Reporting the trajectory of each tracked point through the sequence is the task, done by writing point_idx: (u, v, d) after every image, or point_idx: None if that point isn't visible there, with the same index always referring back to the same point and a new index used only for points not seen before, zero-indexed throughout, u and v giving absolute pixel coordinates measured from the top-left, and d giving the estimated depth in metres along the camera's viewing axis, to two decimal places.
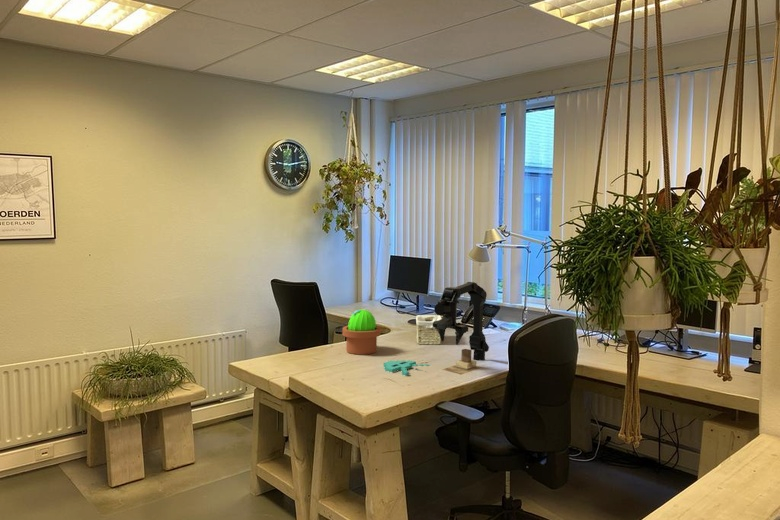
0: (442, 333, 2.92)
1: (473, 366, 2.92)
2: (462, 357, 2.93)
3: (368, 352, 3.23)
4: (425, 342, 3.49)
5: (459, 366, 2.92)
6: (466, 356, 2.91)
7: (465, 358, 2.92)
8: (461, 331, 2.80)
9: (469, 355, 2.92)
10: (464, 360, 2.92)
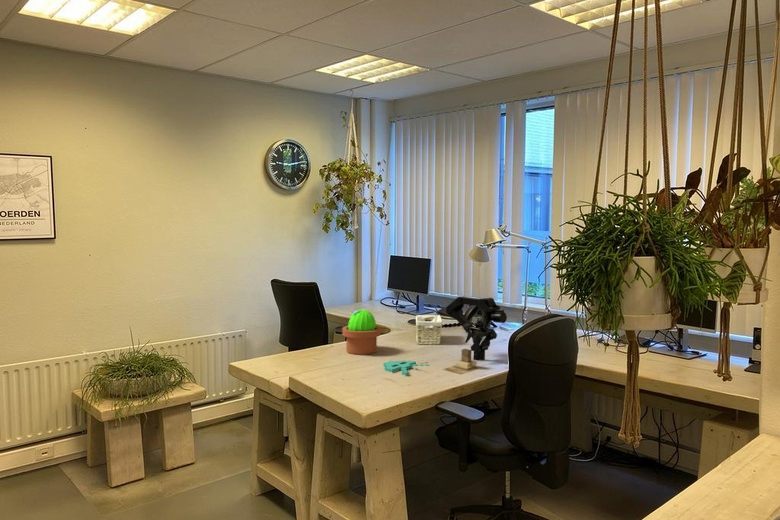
0: (468, 336, 3.02)
1: (473, 366, 2.92)
2: (462, 357, 2.93)
3: (368, 352, 3.23)
4: (425, 342, 3.49)
5: (459, 366, 2.92)
6: (466, 356, 2.91)
7: (465, 358, 2.92)
8: (491, 331, 2.93)
9: (469, 355, 2.92)
10: (464, 360, 2.92)
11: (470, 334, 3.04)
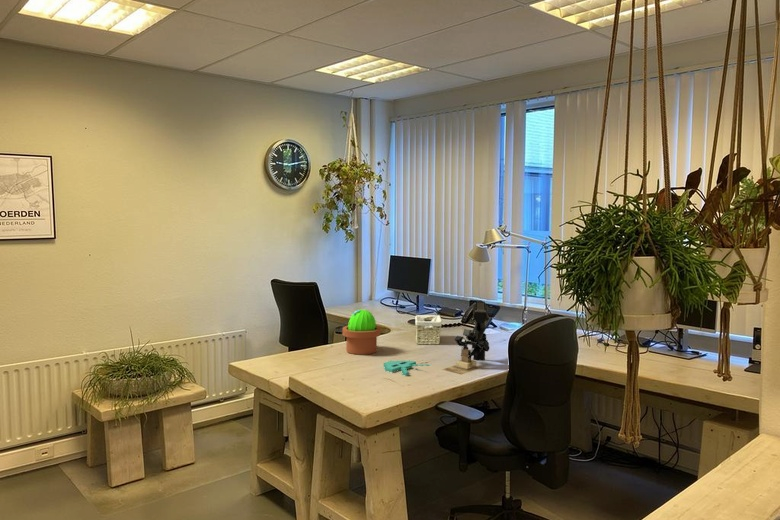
0: None
1: (473, 366, 2.92)
2: (462, 357, 2.93)
3: (368, 352, 3.23)
4: (424, 342, 3.49)
5: (459, 366, 2.92)
6: (466, 356, 2.91)
7: (465, 358, 2.92)
8: (484, 344, 2.88)
9: None
10: (464, 360, 2.92)
11: (466, 347, 2.97)
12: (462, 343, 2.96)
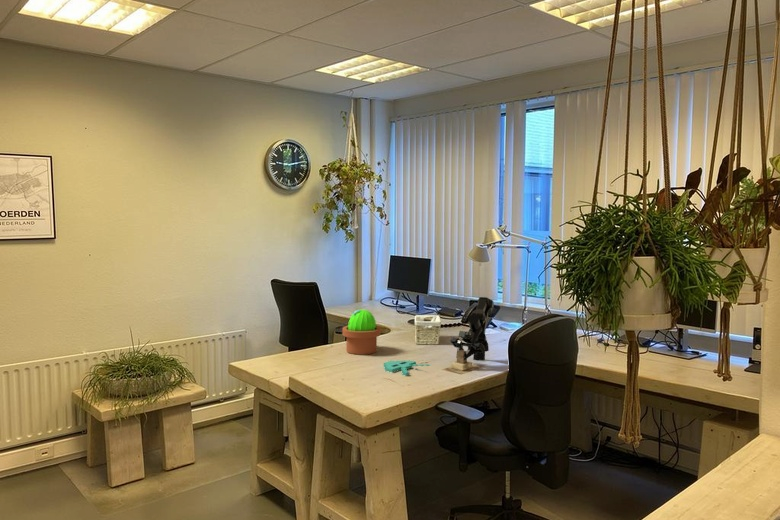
0: None
1: (468, 367, 2.90)
2: (457, 358, 2.91)
3: (368, 352, 3.23)
4: (423, 342, 3.49)
5: (454, 367, 2.89)
6: (461, 357, 2.89)
7: (461, 359, 2.89)
8: (479, 345, 2.86)
9: None
10: (459, 361, 2.90)
11: (461, 349, 2.95)
12: (458, 345, 2.94)
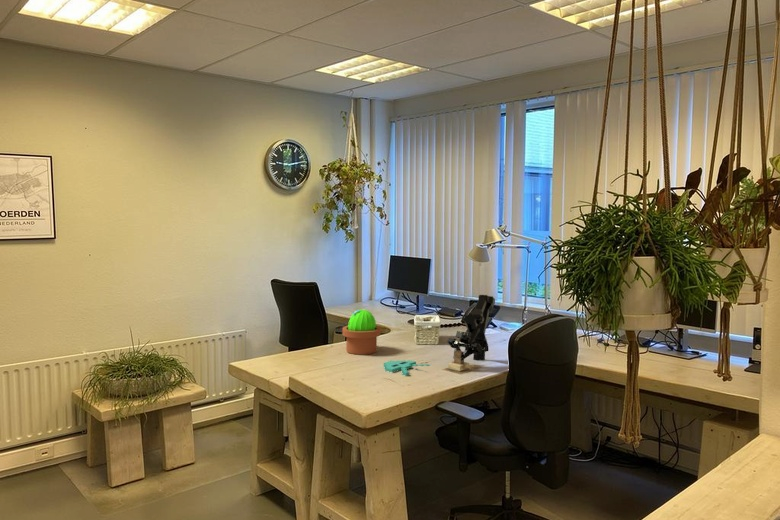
0: None
1: (466, 368, 2.88)
2: (455, 359, 2.89)
3: (368, 352, 3.23)
4: (423, 342, 3.49)
5: (451, 368, 2.87)
6: (459, 358, 2.87)
7: (458, 359, 2.87)
8: (477, 346, 2.84)
9: None
10: (457, 362, 2.88)
11: (459, 349, 2.93)
12: (455, 345, 2.92)
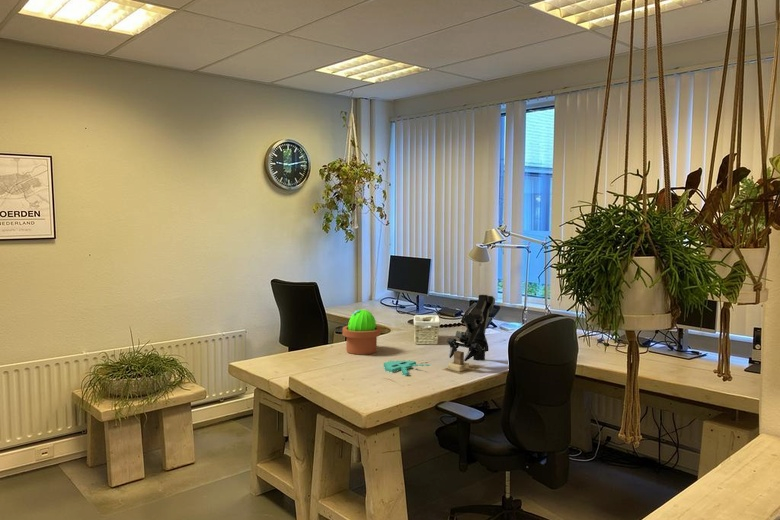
0: (453, 350, 2.93)
1: (465, 368, 2.88)
2: (454, 359, 2.89)
3: (368, 352, 3.23)
4: (422, 342, 3.49)
5: (451, 368, 2.87)
6: (458, 358, 2.87)
7: (458, 360, 2.87)
8: (476, 346, 2.83)
9: (461, 357, 2.87)
10: (456, 362, 2.88)
11: (455, 349, 2.94)
12: (451, 344, 2.93)
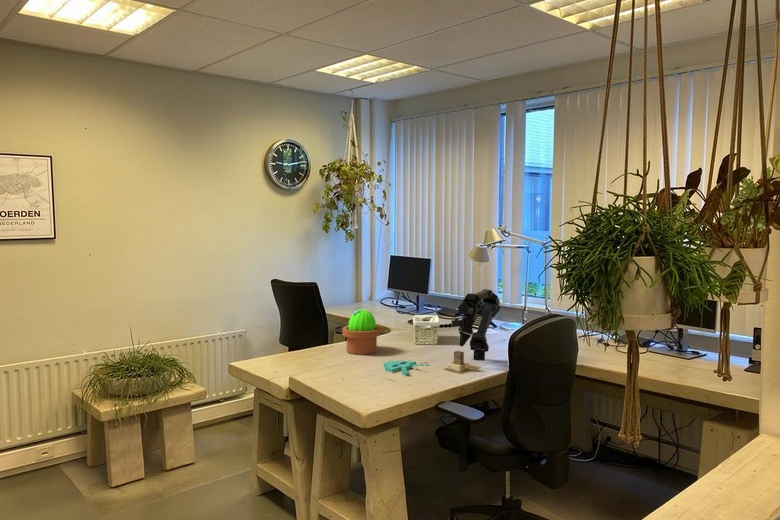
0: None
1: (465, 368, 2.88)
2: (454, 359, 2.89)
3: (368, 352, 3.23)
4: (422, 342, 3.49)
5: (451, 368, 2.87)
6: (458, 358, 2.87)
7: (458, 360, 2.87)
8: (461, 329, 2.89)
9: (461, 357, 2.87)
10: (456, 362, 2.88)
11: None
12: (459, 333, 3.04)
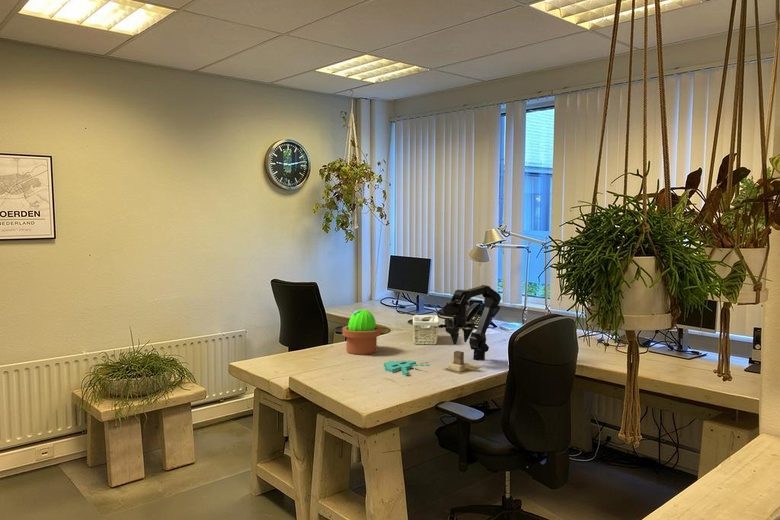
0: (465, 334, 3.04)
1: (465, 368, 2.88)
2: (454, 359, 2.89)
3: (368, 352, 3.23)
4: (421, 342, 3.49)
5: (451, 368, 2.87)
6: (458, 358, 2.87)
7: (458, 360, 2.87)
8: None
9: (461, 357, 2.87)
10: (456, 362, 2.88)
11: (467, 331, 3.03)
12: None
